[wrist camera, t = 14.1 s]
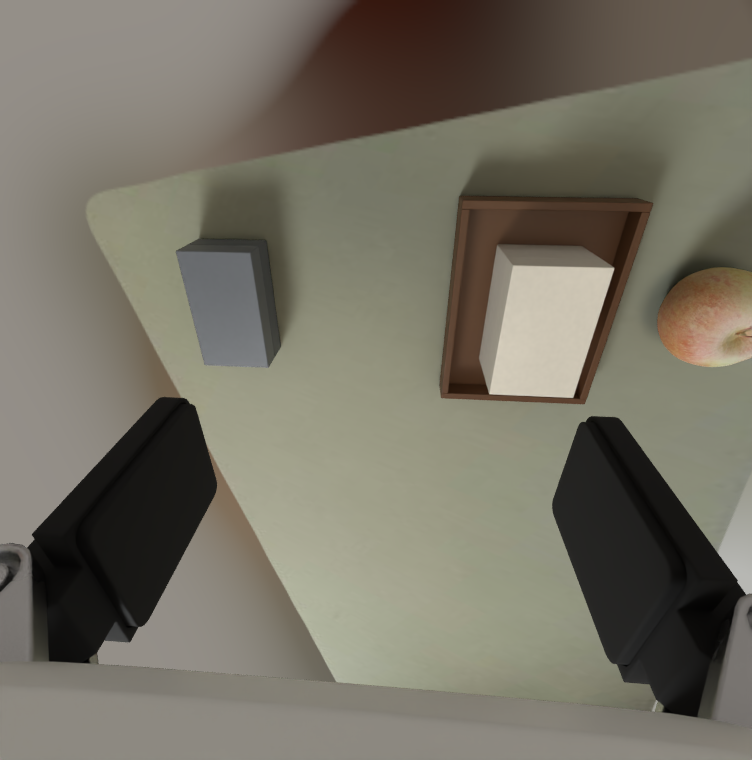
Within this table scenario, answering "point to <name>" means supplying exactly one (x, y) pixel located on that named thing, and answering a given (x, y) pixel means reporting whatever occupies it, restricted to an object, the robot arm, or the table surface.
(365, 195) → the table surface
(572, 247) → the white book lower
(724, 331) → the fruit
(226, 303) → the grey book upper
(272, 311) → the grey book lower
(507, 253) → the white book upper
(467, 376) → the book tray
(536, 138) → the table surface
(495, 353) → the white book
